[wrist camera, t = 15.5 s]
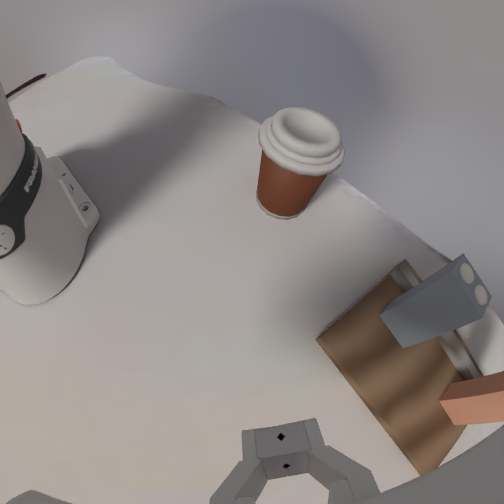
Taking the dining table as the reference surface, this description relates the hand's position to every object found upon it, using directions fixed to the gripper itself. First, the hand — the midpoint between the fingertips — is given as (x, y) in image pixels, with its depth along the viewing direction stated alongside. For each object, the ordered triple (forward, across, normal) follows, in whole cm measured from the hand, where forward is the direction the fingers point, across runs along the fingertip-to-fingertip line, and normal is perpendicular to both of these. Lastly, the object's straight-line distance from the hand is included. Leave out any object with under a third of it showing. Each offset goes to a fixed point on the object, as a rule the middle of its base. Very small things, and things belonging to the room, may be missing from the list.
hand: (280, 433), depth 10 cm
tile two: (+17, -16, +8) cm, 25 cm away
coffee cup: (+29, -5, -6) cm, 30 cm away
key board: (+15, -18, +14) cm, 27 cm away
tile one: (+10, -22, +18) cm, 30 cm away
